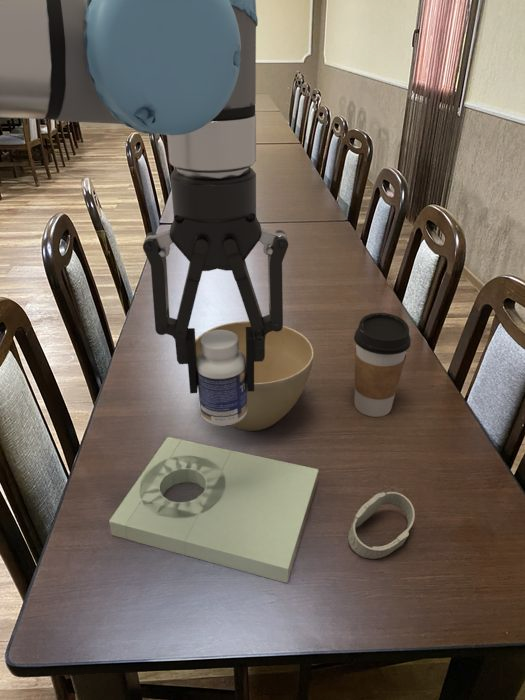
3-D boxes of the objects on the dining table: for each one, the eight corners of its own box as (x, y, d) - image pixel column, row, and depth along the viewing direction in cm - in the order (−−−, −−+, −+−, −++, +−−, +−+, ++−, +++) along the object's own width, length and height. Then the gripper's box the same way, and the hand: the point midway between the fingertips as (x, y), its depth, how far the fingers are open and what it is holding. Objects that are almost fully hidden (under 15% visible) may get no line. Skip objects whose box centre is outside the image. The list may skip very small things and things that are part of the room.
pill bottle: (251, 423, 59) (249, 348, 54) (203, 430, 58) (196, 355, 53) (243, 395, 64) (240, 323, 59) (198, 401, 63) (191, 328, 58)
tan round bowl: (312, 454, 77) (317, 385, 71) (187, 451, 78) (181, 382, 71) (306, 382, 93) (310, 320, 86) (202, 381, 93) (198, 319, 87)
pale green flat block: (111, 535, 65) (108, 521, 64) (168, 449, 78) (167, 436, 77) (287, 583, 59) (288, 569, 58) (317, 482, 73) (318, 469, 71)
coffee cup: (398, 393, 90) (411, 314, 82) (400, 425, 83) (415, 341, 75) (347, 388, 91) (356, 309, 84) (345, 418, 84) (354, 336, 77)
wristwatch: (383, 502, 70) (388, 473, 67) (424, 532, 66) (431, 503, 63) (335, 539, 65) (338, 510, 62) (376, 574, 60) (382, 544, 58)
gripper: (311, 157, 51) (301, 364, 63) (113, 159, 50) (141, 369, 62) (324, 176, 44) (310, 402, 56) (97, 179, 43) (132, 409, 55)
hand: (222, 384), depth 59 cm, fingers closed on pill bottle, 5 cm apart
